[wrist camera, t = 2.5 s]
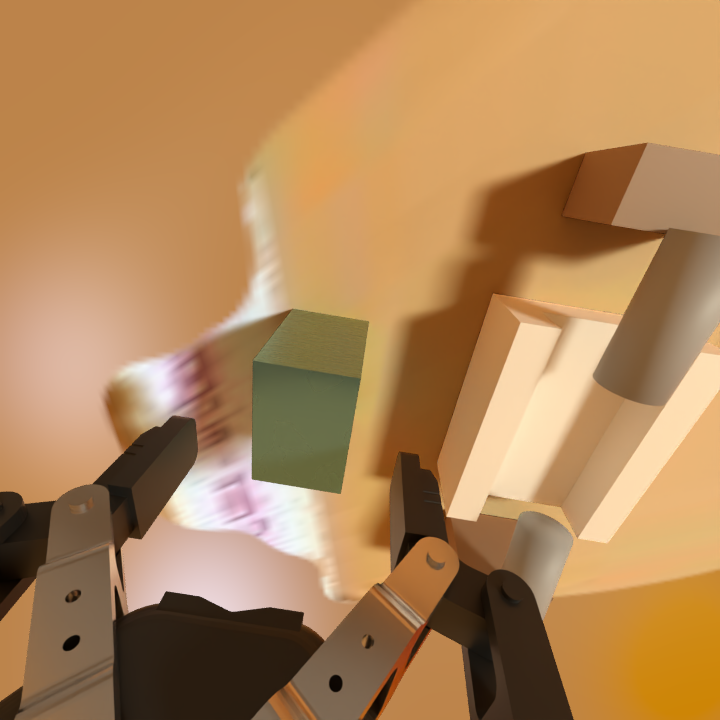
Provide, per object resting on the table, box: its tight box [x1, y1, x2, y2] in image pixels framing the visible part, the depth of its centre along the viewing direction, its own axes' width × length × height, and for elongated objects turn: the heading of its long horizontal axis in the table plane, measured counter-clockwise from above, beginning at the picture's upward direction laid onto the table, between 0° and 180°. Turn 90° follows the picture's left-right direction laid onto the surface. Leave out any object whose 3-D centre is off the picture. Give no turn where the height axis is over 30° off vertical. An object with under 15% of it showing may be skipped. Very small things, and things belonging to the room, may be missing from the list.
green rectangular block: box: [252, 309, 369, 494], centre depth 17 cm, size 6×4×6 cm, turn 172°
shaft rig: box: [437, 143, 720, 621], centre depth 16 cm, size 23×9×7 cm, turn 171°
